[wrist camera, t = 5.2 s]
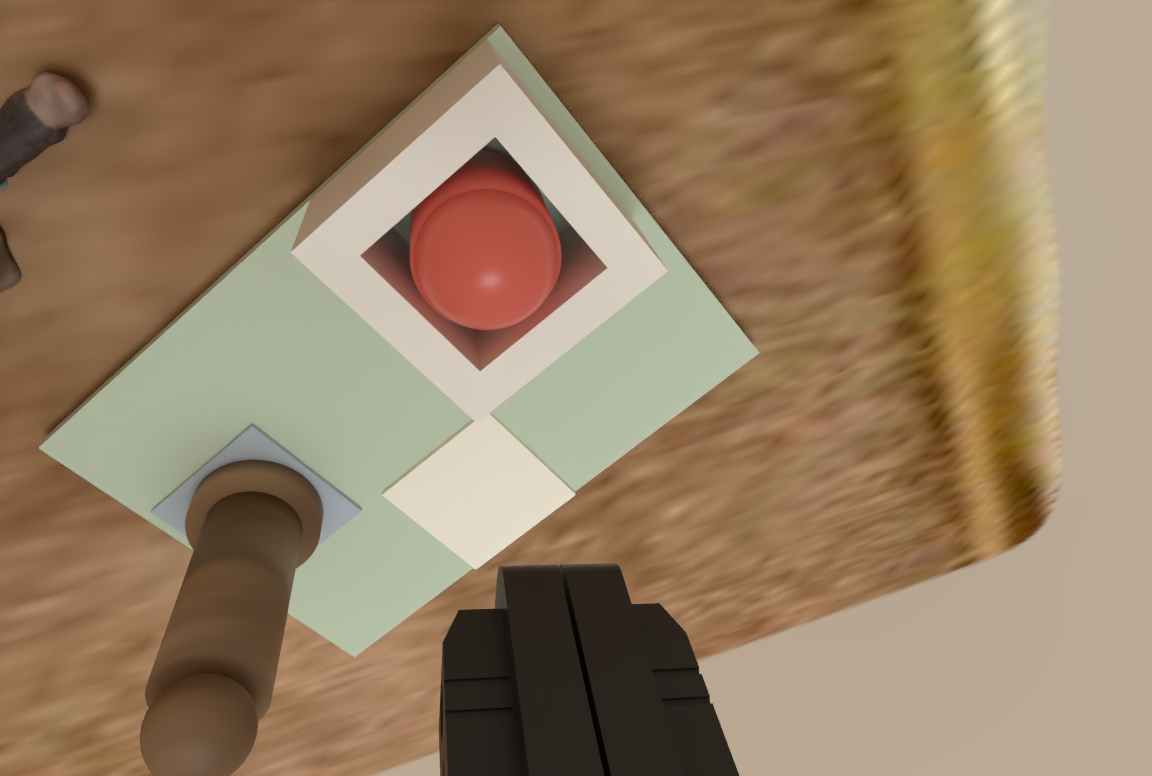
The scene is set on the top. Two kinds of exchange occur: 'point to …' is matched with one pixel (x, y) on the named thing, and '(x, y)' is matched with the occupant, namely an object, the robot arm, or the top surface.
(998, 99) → the top surface
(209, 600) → the pawn
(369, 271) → the popper housing
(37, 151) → the stuffed animal
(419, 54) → the top surface
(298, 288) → the game board
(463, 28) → the top surface
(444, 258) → the popper button
